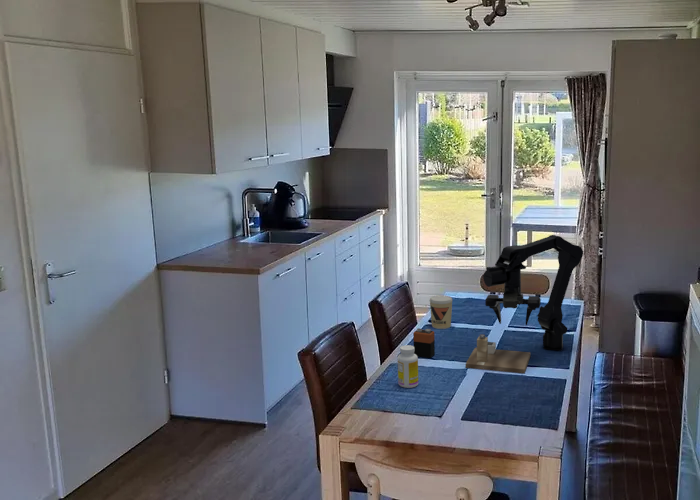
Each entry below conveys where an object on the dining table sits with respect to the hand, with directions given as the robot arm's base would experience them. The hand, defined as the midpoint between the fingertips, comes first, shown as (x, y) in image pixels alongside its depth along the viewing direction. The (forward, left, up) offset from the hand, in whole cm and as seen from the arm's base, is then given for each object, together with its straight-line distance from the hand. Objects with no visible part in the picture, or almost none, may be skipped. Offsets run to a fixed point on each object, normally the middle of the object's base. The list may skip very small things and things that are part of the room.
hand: (513, 324), depth 252 cm
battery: (+31, +8, -12) cm, 34 cm away
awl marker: (+9, +12, -10) cm, 18 cm away
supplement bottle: (+29, +36, -12) cm, 48 cm away
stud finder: (+9, +3, -10) cm, 14 cm away
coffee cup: (+33, -27, -12) cm, 44 cm away
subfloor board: (+4, +8, -12) cm, 15 cm away
